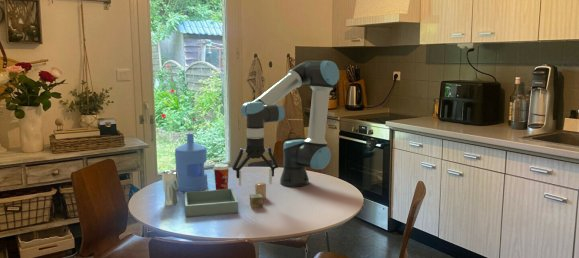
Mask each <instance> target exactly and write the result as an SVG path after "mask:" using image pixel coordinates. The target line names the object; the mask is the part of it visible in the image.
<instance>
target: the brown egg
mask: <svg viewBox="0 0 579 258" xmlns="http://www.w3.org/2000/svg"><path fill="white" fill-rule="evenodd" d="M254 185H255V186H254V187H255V193H254V194H261V195H262V197H263V201H264V200H266V199H267V184H266V182H256V183H255V184H254Z"/></svg>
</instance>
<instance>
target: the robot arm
mask: <svg viewBox="0 0 579 258" xmlns="http://www.w3.org/2000/svg"><path fill="white" fill-rule="evenodd" d="M339 79H340V70H339V67H338V66H337V64H336V63H335V62H334V61H332V60H306V61H303V62H301V63H299V64H297V65H295V67H293V68H291V69H290V70H288V71H287V73H286V76H284V77H283V78H282V79H280V80H279V81H278V82H276V83H275V84H274V85H273V86H271V87H270V88H269V89H268V90H266V91H264V92H263V93H262V94H261V95H260V96H258V97H257V98H256V99H254V100H253V101H248V102H244V103H243V104H242V105H241V107H240V113H241V116H242V117H243V118H245V119H246V137H247V138H246V148H242V147H240V148H239V149H238V151H239V152H238V155H237V157H236V159H235V161H234V163H233V164H232V166H231V169H232V170H233V171H235V173H236V175H235V176H236V177H235V178H236V179H238V185H239V187H241V186H242V171H241V169H243V167H244V166H245V165H246V164H247V162H248V161H249V160H250V159H254V160H255V159H263V161H264V162H265V163H266V164H267V165H268V167H269V168H268V184H269V185H272V184H273V177H275V169H279V165H278V163H277V160H276V159H275V157H274V155H273V153H272V148H271V147H270V146H268V147H266V148H265V139H264V137H265V123H275V122H279V121H280V122H281V121H283V120H284V119H285V116H286V111H285V109H284V107H283V105H281V104H277V103H279V102H280V100H282V99H283V98H285V97H286V96H287V95H289V94H290V93H291V92H292V91H293V90H295V89H296V88H300V87H301V86H303V85H306V84H309V88H310V89H311V90H312V92H311V93H312V94H311V102H310V103H311V104H310V110H309V111H310V112H309V113H310V114H309V123H308V132H307V133H308V134H307V138H306V139H292V140H286V141H284V143H283V146H282V147H283V148H282V152H283V153H282V155H283V157H282V158H283V161H282V163H283V170H282V171H281V176H280V181H279V184H280V185H282V186H284V187H291V188H293V187H295V188H296V187H299V188H300V187H305V186H308V185H309V184H308V183H310V182H309V180H310V179H309V176H308V172H307V170H306V168H309V169H310V168H311V169H313V170H323V169H325V168H326V167H327V166H328V165H329V163H330V161H331V159H332V157H331V156H332V152H331V149H330V148H329V147H328V142H327V141H326V130H327V121H328V120H327V119H328V110H329V101H330V94H331V93H330V92H331V91H333V90H334V85H336V84H337V83H338V81H339ZM265 152H266V153H267V154H268V156H269V158H270V160H271V162H272V163H271V162H270V161H269V160H268V159H267V158H266V157H265V156H264V154H265ZM245 153H246V154H247V155H246V156H245V157H244V158H243V160H242V161H241V158H242V157H243V155H244V154H245ZM240 161H241V162H240ZM272 164H273V165H272Z"/></svg>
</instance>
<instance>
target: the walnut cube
mask: <svg viewBox="0 0 579 258" xmlns="http://www.w3.org/2000/svg"><path fill="white" fill-rule="evenodd" d="M263 202H264V200H263V197H262V195H261V194H255V193H253V194H249V207H250V208H251V210H253V209H262V208H264V203H263Z"/></svg>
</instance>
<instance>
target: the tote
mask: <svg viewBox="0 0 579 258" xmlns="http://www.w3.org/2000/svg"><path fill="white" fill-rule="evenodd" d="M184 207H185V208H184V209H185V210H184V211H185V218H193V217H207V216H217V215H218V216H219V215H227V214H228V215H230V214H238V213H239V201H238V198H237V196H236V193H235V191H234V189H233V188H228V189H220V190H216V189H209V190H207V189H205V190H202V191H192V192H184Z"/></svg>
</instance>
